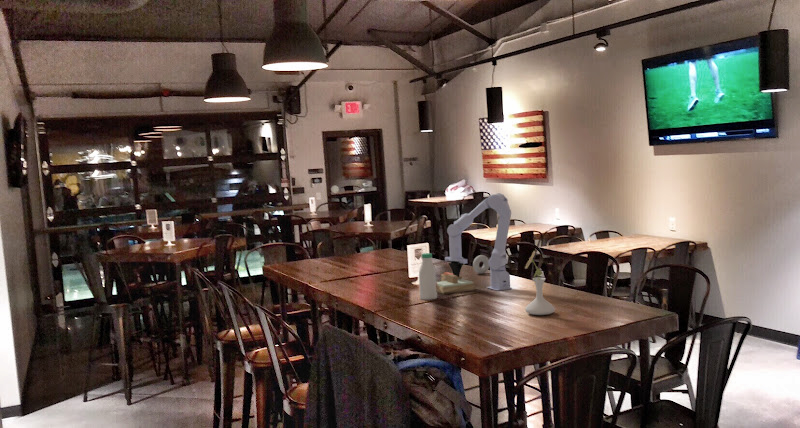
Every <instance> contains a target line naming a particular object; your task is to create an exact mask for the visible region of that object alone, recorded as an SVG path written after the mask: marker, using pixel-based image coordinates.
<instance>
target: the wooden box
mask: <svg viewBox="0 0 800 428" xmlns="http://www.w3.org/2000/svg"><path fill="white" fill-rule="evenodd" d="M470 291H475V283H474V282H473V284H466V285H458V286H451V287H441V286H438V285H437V293H439V294H442V295H447V294H454V293H461V292H462V293H464V292H470Z"/></svg>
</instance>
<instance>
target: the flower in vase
mask: <svg viewBox="0 0 800 428" xmlns="http://www.w3.org/2000/svg"><path fill="white" fill-rule="evenodd" d="M535 256H536V251H535V250H533V252H532V253H531V256H530V257H529V258H528V259H529V260H527V262H526V264H525V266H524V269H525V270H526V269H528V268H529V266H531V265H530V264H531V263H533V264H534V267H535V268H536V271H535V273H534V274H533V277H532V281H534V284H535V290H536V294H535V295H536V296H535V298H534V299H533V300H532V301H530V303H528V305H526V306H525V308H524V311H525V312H526V313H527V314H530V315H535V316H545V315H551V314H552V313H554V312H555V311H556V308H555V306H553V304H551V303H550V302H549V301H547V300H546V299H545V298H544V296H543V295H544V294H543V288H544V284H545V281H546V277H540V276H542V275H543V272H542V270H541V269H540V267H539V268H538V267H537V265H536V263H535V261H534V257H535ZM536 276H537V277H536Z"/></svg>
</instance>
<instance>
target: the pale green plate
mask: <svg viewBox="0 0 800 428" xmlns="http://www.w3.org/2000/svg"><path fill="white" fill-rule="evenodd" d="M446 276H447V281H441V280H440V281H437V285H438V286H441V287H451V286H458V285H466V284H473V283H474V281H471V280H468V279H464V278H462V279H458V276H456V275H452V274H450V275H446Z"/></svg>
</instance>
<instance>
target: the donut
mask: <svg viewBox="0 0 800 428" xmlns="http://www.w3.org/2000/svg"><path fill="white" fill-rule="evenodd" d="M489 259H490V258H489V257H487V256H486V255H483V254H480V255H477V256H476V257H475V258H474V259H473V262H472V269H473V270H474V271H475V273H477V274H479V275H480V274H485V273H486V272H488V270H490V267H489V265H488V261H489ZM480 263H483V264H482V266H480Z"/></svg>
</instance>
